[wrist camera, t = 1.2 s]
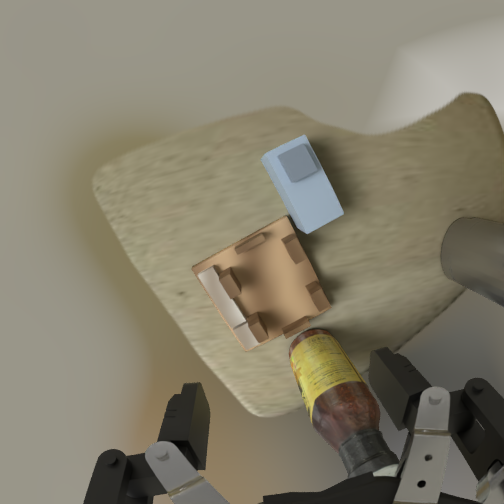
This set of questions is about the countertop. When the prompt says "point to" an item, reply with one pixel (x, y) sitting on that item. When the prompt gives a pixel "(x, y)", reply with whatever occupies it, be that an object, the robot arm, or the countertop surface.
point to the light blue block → (302, 184)
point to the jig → (263, 285)
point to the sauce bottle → (340, 404)
